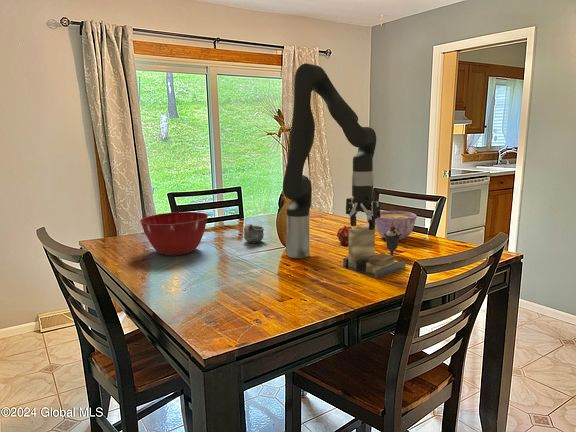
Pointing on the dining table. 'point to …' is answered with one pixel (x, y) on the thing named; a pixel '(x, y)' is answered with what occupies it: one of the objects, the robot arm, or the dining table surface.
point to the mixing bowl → (175, 231)
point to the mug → (253, 233)
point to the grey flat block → (373, 268)
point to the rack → (361, 268)
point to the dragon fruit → (343, 235)
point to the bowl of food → (395, 222)
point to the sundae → (392, 239)
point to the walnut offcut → (381, 259)
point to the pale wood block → (360, 244)
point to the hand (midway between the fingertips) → (362, 227)
